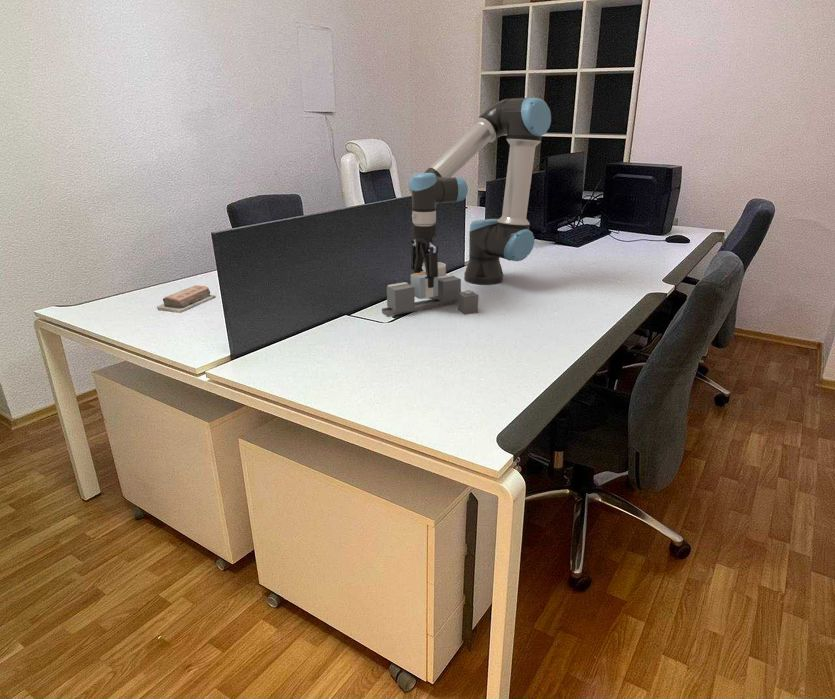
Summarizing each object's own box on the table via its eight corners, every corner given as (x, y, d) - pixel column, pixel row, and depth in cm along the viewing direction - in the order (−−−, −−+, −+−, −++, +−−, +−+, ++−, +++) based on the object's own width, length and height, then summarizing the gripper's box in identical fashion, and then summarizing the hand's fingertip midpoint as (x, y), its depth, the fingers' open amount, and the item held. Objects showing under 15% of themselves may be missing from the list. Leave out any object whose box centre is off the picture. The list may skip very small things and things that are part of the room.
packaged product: (191, 283, 203) (214, 285, 200) (193, 296, 205) (216, 298, 202) (154, 297, 187) (178, 300, 184) (157, 311, 189) (180, 314, 186)
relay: (471, 308, 187) (471, 288, 185) (477, 312, 183) (478, 292, 180) (457, 309, 186) (458, 290, 183) (463, 314, 181) (464, 294, 179)
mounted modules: (451, 294, 196) (451, 274, 193) (460, 298, 191) (460, 278, 188) (387, 306, 185) (386, 284, 182) (395, 311, 180) (395, 289, 177)
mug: (448, 298, 198) (448, 267, 193) (423, 299, 196) (423, 268, 192) (440, 288, 209) (440, 259, 204) (417, 290, 207) (416, 260, 203)
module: (428, 291, 191) (428, 270, 188) (438, 295, 186) (438, 274, 183) (410, 294, 188) (410, 273, 185) (419, 299, 183) (419, 277, 180)
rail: (458, 298, 197) (458, 294, 196) (464, 301, 194) (465, 297, 193) (381, 313, 183) (381, 308, 183) (387, 316, 180) (387, 311, 180)
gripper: (399, 220, 184) (400, 288, 193) (429, 230, 169) (429, 303, 177) (419, 218, 187) (419, 285, 196) (450, 227, 172) (449, 299, 181)
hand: (424, 294), depth 187 cm, fingers closed on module, 6 cm apart
